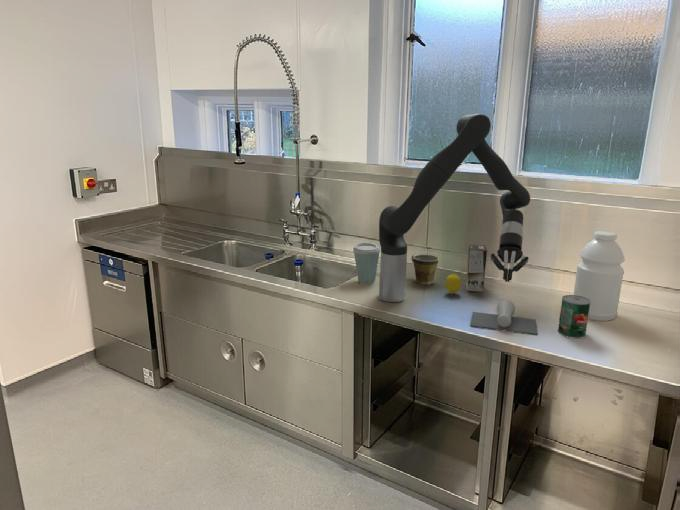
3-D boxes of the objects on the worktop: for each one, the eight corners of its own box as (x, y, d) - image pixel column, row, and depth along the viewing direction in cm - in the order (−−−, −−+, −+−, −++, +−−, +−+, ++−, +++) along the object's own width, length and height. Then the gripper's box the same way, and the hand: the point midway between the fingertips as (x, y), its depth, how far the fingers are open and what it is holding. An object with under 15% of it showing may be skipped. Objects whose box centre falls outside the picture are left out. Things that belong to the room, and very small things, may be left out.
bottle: (597, 324, 167) (610, 239, 160) (561, 310, 179) (572, 230, 171) (625, 317, 173) (639, 235, 166) (589, 303, 185) (600, 226, 178)
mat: (472, 313, 175) (472, 311, 175) (535, 320, 170) (535, 319, 169) (469, 326, 164) (470, 325, 164) (537, 335, 158) (537, 333, 158)
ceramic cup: (442, 283, 206) (444, 258, 203) (423, 287, 200) (425, 262, 198) (420, 274, 216) (421, 251, 213) (401, 278, 211) (402, 254, 208)
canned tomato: (583, 340, 155) (588, 305, 152) (555, 334, 159) (560, 300, 156) (587, 331, 162) (592, 298, 159) (560, 325, 166) (564, 293, 163)
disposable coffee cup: (383, 285, 203) (384, 247, 199) (356, 287, 200) (357, 249, 196) (374, 277, 213) (375, 241, 209) (349, 278, 210) (349, 242, 206)
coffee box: (483, 292, 196) (487, 250, 192) (466, 290, 197) (469, 249, 193) (482, 284, 205) (485, 244, 200) (465, 283, 206) (468, 243, 202)
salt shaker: (496, 298, 173) (492, 314, 162) (514, 296, 171) (512, 313, 159) (498, 314, 175) (495, 331, 163) (516, 312, 172) (514, 330, 161)
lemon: (461, 293, 195) (463, 272, 193) (458, 297, 190) (459, 276, 188) (446, 290, 197) (448, 270, 195) (443, 295, 192) (444, 274, 190)
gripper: (492, 230, 182) (487, 273, 174) (532, 233, 178) (529, 277, 170) (491, 241, 189) (486, 283, 181) (530, 244, 185) (527, 287, 177)
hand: (507, 280), depth 175 cm, fingers closed
